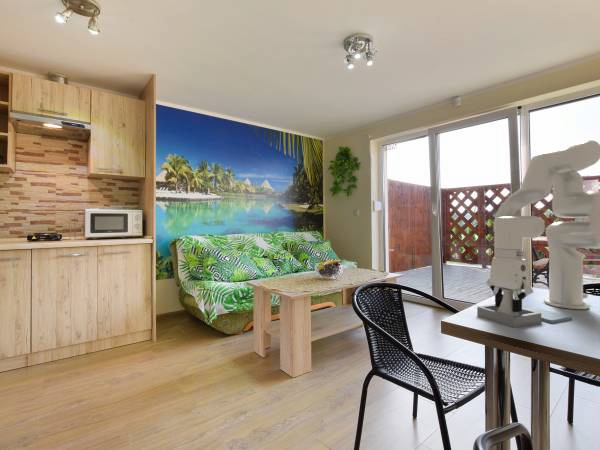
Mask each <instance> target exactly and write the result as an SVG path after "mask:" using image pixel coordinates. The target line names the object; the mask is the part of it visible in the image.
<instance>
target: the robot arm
mask: <svg viewBox="0 0 600 450" xmlns="http://www.w3.org/2000/svg"><path fill="white" fill-rule="evenodd" d="M599 160H600V143H599V142H598V141H595V140H591V139H590V140H585V141H579V142H572V143H569V144H562V145H558V146H552V147H549V148H546V149H544V150H542V151H541V152H538V153H536V154H535V155H534V156H532V158H531V159H530V161H529V163H528V167H527V169H526V172H525V175H524V177H523V181H522V183H521V186H520V188H519V189H518V190H516V191H514V193H512V194H510V196H509V197H507V198H506V199H505V200H504V201H503V202H502V203H501V204H500V206H499V207H498V209H497V211H496V214H495V217H494V220H493V227H492V228H493V231H494V236H493V237H494V241H493V242H494V251H493V252H494V256H493V257H492V259H491V265H490V276H489V278H488V279H487V280H486V285H487V286H488V287H489V288H490V289H491V291H492V294H493V295H494V304H495V306H496V307H499V306H500V303H501V301H502V298H503V289H502V288H505V289H510V290H512V291H513V298H514V299H513V312H519V311H521V310H522V308H523V300H524V299H525V298H526V297H527V296H529V295H531V294H532V293H534V290H533V288H532V287H531V285H530V280H529V279H530V278H529V277H530V276H529V271H528V265H527V261H526V259H525V258H523V257H526V255H527V253H526V252H525V251H523V250H524V249H523V239H536V238H539V237H540V236H542V234H544V232H545V236H546V241H547V246H548V254H549V255H548V257H549V258H548V262H549V263H548V264H549V265H548V269H549V270H548V272H549V273H548V290H549V291H548V297H545V298H544V299H543V302H544V303H545V304H547V305H549V306H553V307H557V308H562V309H569V310H588V309H589V308H590V307H589V304H588V303H586V302H584V299H588V297H589V295H588V294H587V293H584V260H583V259H584V258H583V256H582V255H581V254H580V252H579V251H578V250H577V249H579V248H580V249H594V250H595V249H596V250H597V249H598V250H599V249H600V190H591V191H588V190H587V191H584V179H583V178H584V177H583V176H582V175H581V174H580V173H579V172H580V171H582V170H585V169H587V168H590V167H591V166H593V165H595V164H597V163H598V162H599ZM551 191H552V204H551V206H552V207H551V208H552V213H553V215H554V216H555V217H558V218H562V219H589V221H557V222H556V221H555V222H553V223H551V224H549V225H548V226H547V228H545V227H546V225H545V222H544V220H543V219H541V218H540V217H538V216H534V215H515V214H516V212H518V211H520V210H521V209H522V208H524V207H526V206H529V205H531V204H535V203H537V202H539V201H541V200H543V199H546V198H547V197H548V196H550V194H551ZM576 248H577V249H576Z"/></svg>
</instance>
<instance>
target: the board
mask: <svg viewBox="0 0 600 450" xmlns="http://www.w3.org/2000/svg"><path fill="white" fill-rule="evenodd" d="M529 310H532V311H535V312H539V313H541V322H544V323H549V324H557V323H562V322H567V321H571V320H573V316H571V315H568V314H563V313H559V312H555V311H552V310H551V311H550V310H547V309H543V308H540V307H536V308H530V309H529Z"/></svg>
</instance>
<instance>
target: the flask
mask: <svg viewBox="0 0 600 450" xmlns="http://www.w3.org/2000/svg"><path fill="white" fill-rule="evenodd" d="M502 289H503V292H502V294H503V298H502V301H501V303H500V306H499V308H498V310H497V312H501V313H504V314H507V315H511V316H517V315H519V313H518V312H513V299H515V298H514V295H513V291H512V290H510V289H505V288H502Z"/></svg>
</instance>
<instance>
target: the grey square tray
mask: <svg viewBox="0 0 600 450" xmlns="http://www.w3.org/2000/svg"><path fill="white" fill-rule="evenodd" d="M498 308H499V307H496V306H495V303H494V304H486V305H481V306H480V305H479V306H477V308H476V309H477V310H476V311H477V312H476V313H477V314H476V315H477V316H478V317H481V318H484V319H487V320H490V321H493V322H496V323H498V324H502V325H504V326H508V327H511V328H518V327H519V328H520V327H524V326H525V327H526V326H530V325H535V324H541V323H542V321H541V313H539V312H535V311H532V310H530V309H529V308H523V307H522V310H521V311H519V312H518V313H519V315H517V316H511V315H507V314H504V313H501V312H497V310H498Z"/></svg>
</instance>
